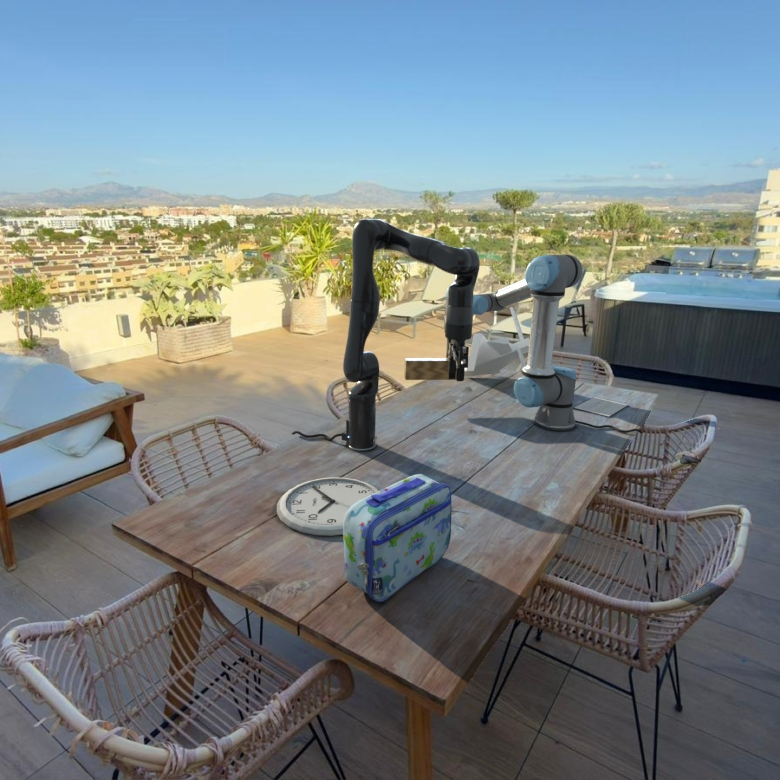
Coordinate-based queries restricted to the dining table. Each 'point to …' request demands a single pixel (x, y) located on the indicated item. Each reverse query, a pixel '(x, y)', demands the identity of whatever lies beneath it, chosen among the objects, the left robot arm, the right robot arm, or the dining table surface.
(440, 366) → the bar
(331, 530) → the wall clock
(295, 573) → the dining table surface
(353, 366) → the left robot arm
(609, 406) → the invitation card
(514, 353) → the white plastic object
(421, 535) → the lunch box
